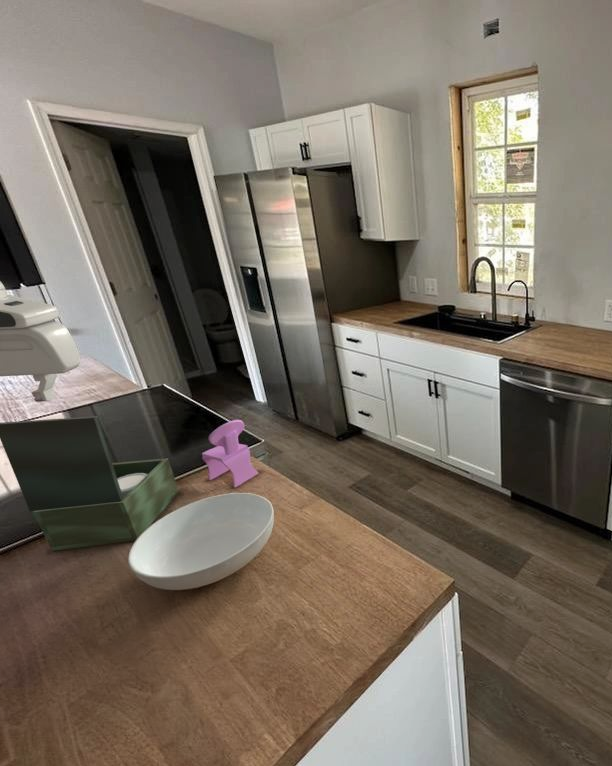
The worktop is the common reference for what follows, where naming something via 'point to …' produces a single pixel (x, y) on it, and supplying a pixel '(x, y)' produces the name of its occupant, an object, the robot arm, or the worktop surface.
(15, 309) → the robot arm
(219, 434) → the toy chair
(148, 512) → the box
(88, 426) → the green box lid
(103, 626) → the worktop surface
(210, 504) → the serving bowl
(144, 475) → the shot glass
